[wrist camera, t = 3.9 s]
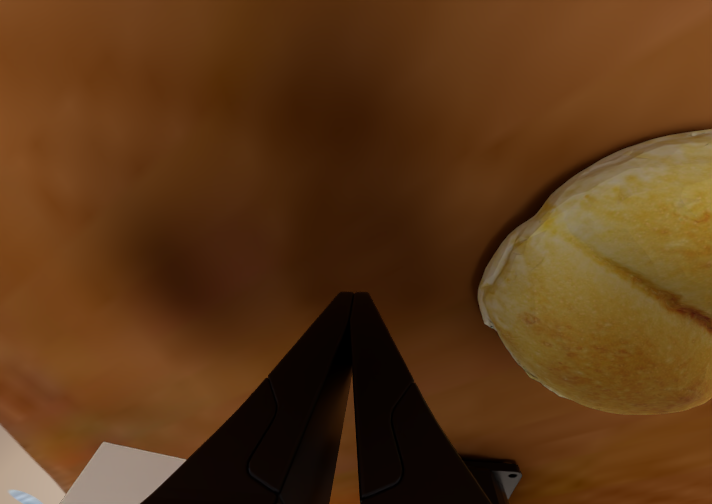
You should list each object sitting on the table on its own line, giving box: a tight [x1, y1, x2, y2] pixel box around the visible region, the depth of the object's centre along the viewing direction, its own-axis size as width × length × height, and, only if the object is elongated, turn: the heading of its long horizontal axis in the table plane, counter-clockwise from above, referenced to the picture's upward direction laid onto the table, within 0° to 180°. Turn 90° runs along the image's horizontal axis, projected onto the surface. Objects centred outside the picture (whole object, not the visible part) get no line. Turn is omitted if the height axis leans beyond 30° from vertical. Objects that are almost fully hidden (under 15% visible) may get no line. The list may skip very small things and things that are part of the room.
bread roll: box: [478, 129, 712, 415], centre depth 8 cm, size 8×9×4 cm
